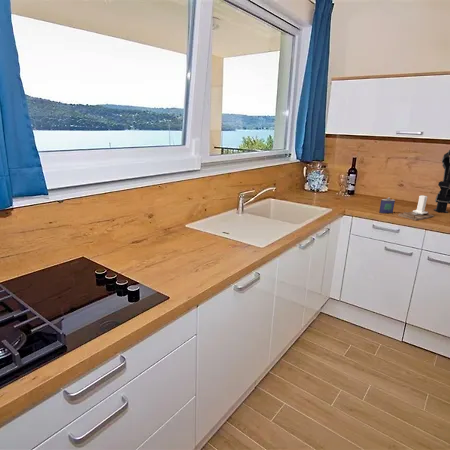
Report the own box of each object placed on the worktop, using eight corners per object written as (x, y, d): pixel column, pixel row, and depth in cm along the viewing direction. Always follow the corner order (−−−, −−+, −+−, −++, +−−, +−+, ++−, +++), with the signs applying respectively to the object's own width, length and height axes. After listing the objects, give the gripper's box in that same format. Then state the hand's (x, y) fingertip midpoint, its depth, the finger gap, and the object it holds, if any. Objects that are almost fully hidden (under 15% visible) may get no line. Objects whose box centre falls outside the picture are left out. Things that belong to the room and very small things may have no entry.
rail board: (415, 212, 224) (416, 208, 223) (433, 216, 215) (434, 212, 214) (397, 215, 214) (398, 211, 214) (415, 220, 205) (416, 216, 204)
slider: (417, 210, 220) (421, 194, 217) (427, 213, 215) (431, 196, 211) (412, 211, 217) (415, 195, 214) (422, 214, 212) (425, 197, 209)
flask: (391, 212, 222) (394, 196, 219) (393, 213, 219) (396, 197, 216) (378, 212, 221) (380, 196, 218) (380, 213, 218) (383, 197, 215)
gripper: (460, 175, 197) (453, 200, 202) (475, 173, 206) (469, 198, 211) (440, 172, 206) (435, 196, 211) (456, 170, 216) (450, 194, 220)
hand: (447, 196), depth 213 cm, fingers open, 9 cm apart
